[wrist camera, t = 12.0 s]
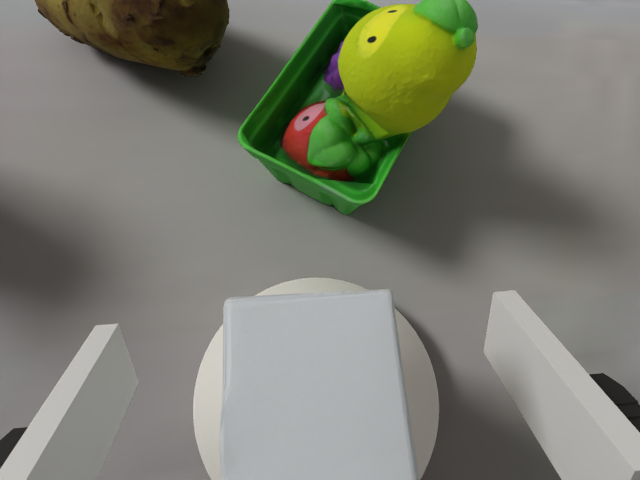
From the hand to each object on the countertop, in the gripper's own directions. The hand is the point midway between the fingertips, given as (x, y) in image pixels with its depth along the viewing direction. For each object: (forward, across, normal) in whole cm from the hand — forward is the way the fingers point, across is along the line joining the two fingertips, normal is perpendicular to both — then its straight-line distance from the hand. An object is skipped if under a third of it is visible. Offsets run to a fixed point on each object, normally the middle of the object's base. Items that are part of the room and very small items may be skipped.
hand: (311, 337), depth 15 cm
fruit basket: (+14, +4, +3) cm, 15 cm away
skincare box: (+3, 0, -6) cm, 7 cm away
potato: (+20, -9, +9) cm, 24 cm away
